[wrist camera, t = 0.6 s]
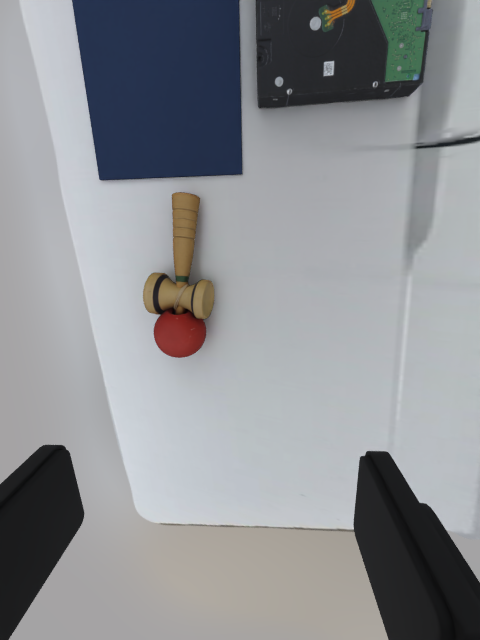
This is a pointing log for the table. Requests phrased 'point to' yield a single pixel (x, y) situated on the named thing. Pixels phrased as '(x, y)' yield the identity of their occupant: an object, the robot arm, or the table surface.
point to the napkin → (162, 86)
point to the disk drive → (339, 50)
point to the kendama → (180, 288)
